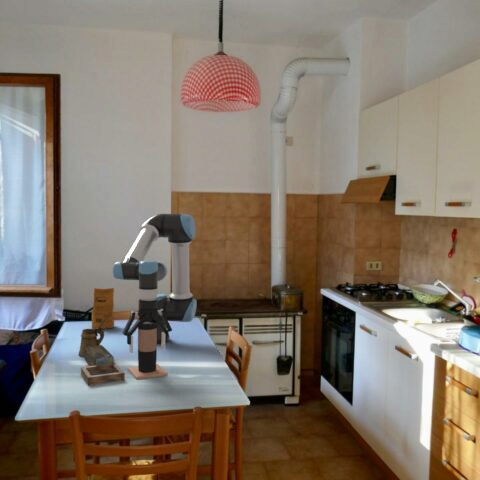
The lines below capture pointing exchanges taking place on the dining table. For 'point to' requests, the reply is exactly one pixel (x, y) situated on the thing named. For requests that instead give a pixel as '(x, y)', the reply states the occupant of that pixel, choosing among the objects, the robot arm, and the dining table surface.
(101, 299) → the coffee package
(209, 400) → the dining table surface
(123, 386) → the dining table surface
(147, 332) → the travel mug
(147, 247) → the robot arm
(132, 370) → the coaster tile
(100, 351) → the beverage carton
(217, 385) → the dining table surface
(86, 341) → the wooden mug
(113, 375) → the collar
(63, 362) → the dining table surface
